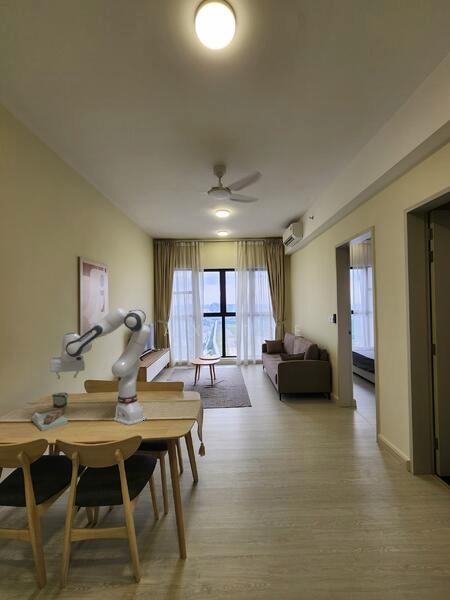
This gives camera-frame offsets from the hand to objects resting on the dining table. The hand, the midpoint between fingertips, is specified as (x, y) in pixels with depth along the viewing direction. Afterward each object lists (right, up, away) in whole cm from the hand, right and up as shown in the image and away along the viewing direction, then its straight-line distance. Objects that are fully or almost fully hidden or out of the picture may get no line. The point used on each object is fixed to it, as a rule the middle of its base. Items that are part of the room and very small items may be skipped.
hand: (67, 378), depth 189 cm
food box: (-8, -27, -6) cm, 29 cm away
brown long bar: (-4, -24, -7) cm, 25 cm away
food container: (-15, -27, +21) cm, 37 cm away
